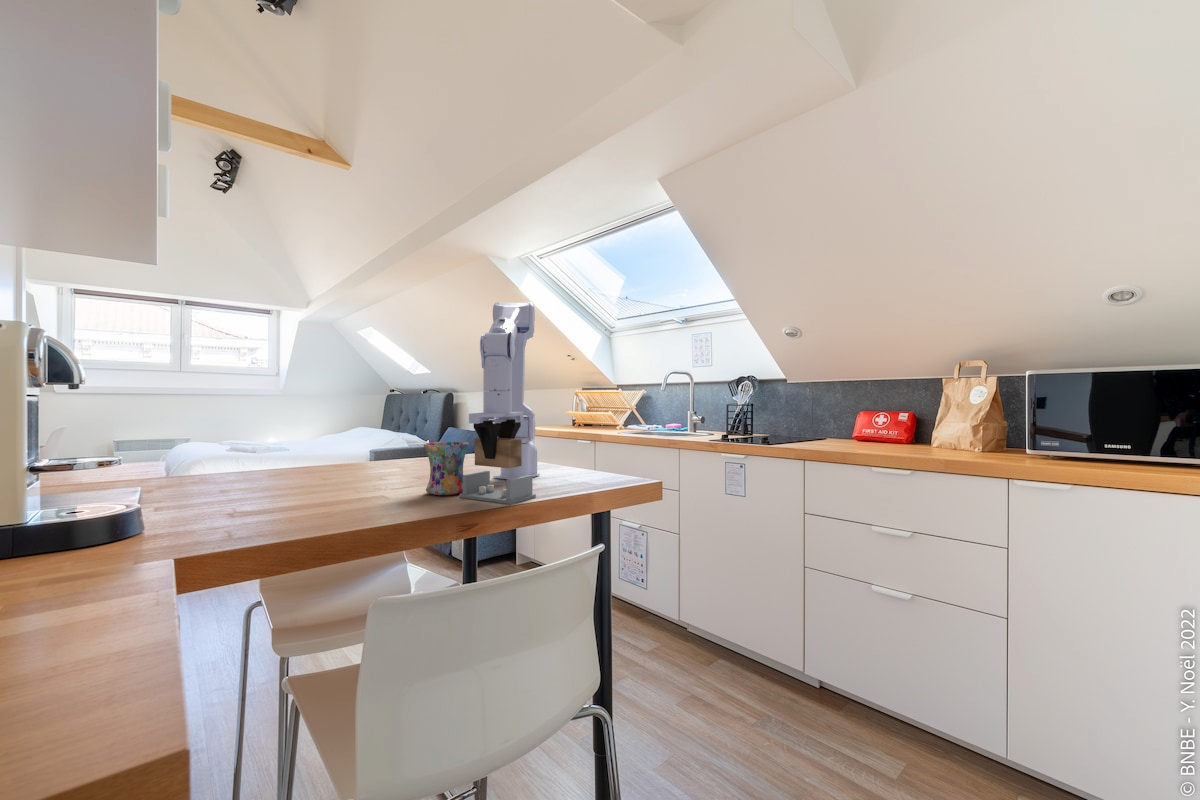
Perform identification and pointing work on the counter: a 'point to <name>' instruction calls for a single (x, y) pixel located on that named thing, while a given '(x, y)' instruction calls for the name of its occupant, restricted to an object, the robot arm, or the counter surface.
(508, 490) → the peg cradle
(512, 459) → the shelf block
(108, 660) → the counter surface
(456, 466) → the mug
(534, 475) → the robot arm
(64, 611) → the counter surface
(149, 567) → the counter surface
